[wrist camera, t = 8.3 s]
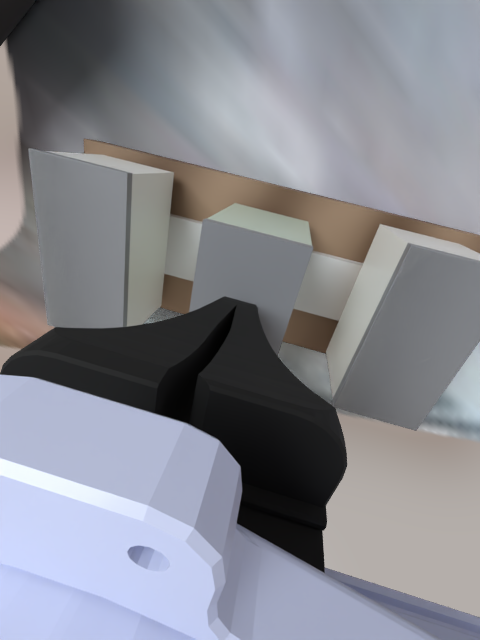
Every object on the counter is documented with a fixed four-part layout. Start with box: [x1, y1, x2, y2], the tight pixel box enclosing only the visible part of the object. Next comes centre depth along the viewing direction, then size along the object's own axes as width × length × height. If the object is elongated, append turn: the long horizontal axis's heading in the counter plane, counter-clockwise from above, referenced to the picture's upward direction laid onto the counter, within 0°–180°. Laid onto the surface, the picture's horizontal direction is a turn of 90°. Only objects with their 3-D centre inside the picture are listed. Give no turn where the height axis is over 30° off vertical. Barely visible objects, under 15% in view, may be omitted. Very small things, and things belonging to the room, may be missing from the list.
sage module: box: [189, 203, 313, 356], centre depth 15 cm, size 4×6×6 cm, turn 168°
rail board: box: [84, 139, 480, 353], centre depth 18 cm, size 22×9×2 cm, turn 78°
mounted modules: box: [28, 148, 480, 431], centre depth 15 cm, size 19×8×5 cm, turn 78°
